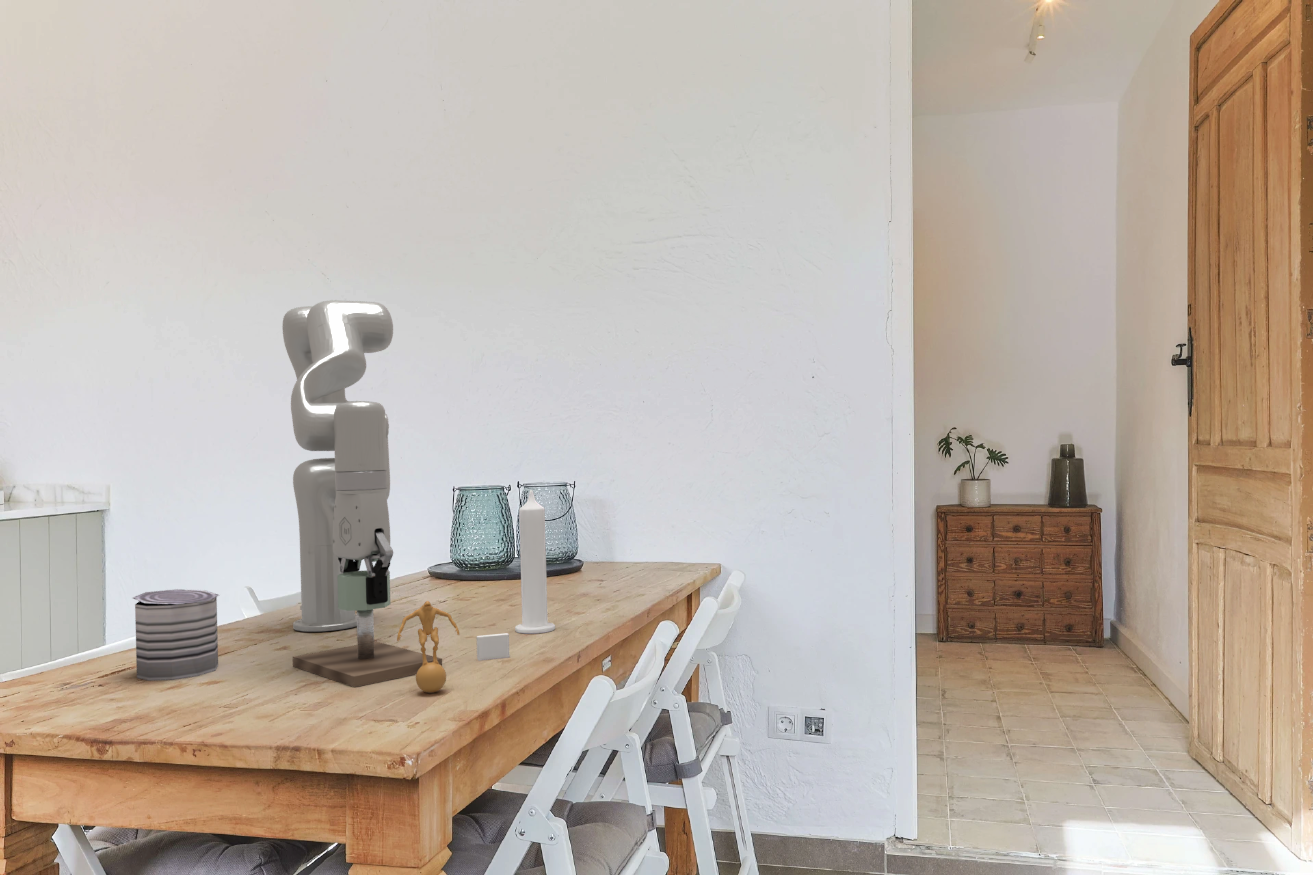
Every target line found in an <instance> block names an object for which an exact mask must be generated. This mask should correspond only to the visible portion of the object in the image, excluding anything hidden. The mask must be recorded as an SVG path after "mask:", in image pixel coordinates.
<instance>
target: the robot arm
mask: <svg viewBox="0 0 1313 875" xmlns="http://www.w3.org/2000/svg"><path fill="white" fill-rule="evenodd" d="M282 319H283V320H282V326H281V327H282V336H283V343H284V347H285V351H286V352H287V355H288V358H289V361H290V363H291V365H292V368H293V370H294V373H295V376H296V381H295V383H294V386H293V388H292V392H291V395H290V412H291V419H292V427H293V428H292V429H293V434H294V437H295V441H296V443H297V444H298V445H299V446H300V448H302V449H303V450H306V451H310V452H334V457H325V458H324V457H323V458H312V459H309V460H306V461H303V462H301V463H300V464H298V465H297V467H295V469H294V472H293V476H292V487H293V492H294V497H295V502H296V509H297V516H298V527H299V528H298V531H299V533H298V534H299V560H300V562H299V563H300V564H299V565H300V598H301V599H300V600H301V601H300V603H301V605H300V606H299V607H300V610H301V618H300V619H297V620H294V621H293V623H292V628H293V629H294V630H295V631H298V632H307V633H308V632H309V633H310V632H312V633H314V632H315V633H316V632H330V631H339V630H346V629H351V628H354V627H355V628H357V613H356V611H346V610H342V609H338V576H337V575H340V574H342V573H346V572H354V571H361V570H360V569H361V565H362V561H363V560H364V564H365V568H366V570H367V572H368V576H369V577H367V578H366V603H367V604H369V605H372V604H379V603H385V602H387V601H388V587H387V576H388V574H389V569H390V566H391V561H392V558H393V557H394V550H393V548H392V546H391V526H390V514H389V506H388V499H389V497H390V491H391V474H390V470H391V467H390V455H389V454H390V451H389V450H390V449H389V430H390V429H389V428H390V424H389V417H388V414H387V413H386V409H385V408H384V406H383V404H382V403H379V402H375V401H367V400H366V401H365V400H361V401H360V400H358V401H356V400H353V401H350V400H347V398H346V389H347V388H349V387H351V386H353V385H355V384H357V383H358V382H359V381H360V380H361V379H362V378H363V376H364V375H365V373H366V370H367V360H366V357H365V355H366V354H373V353H379V352H382V351H384V350H386V349H387V348H389V346H390V345H391V344H392V340H393V336H394V324H393V319H392V316H391V313H390V312H389V310H388V308H387V307H386V306H385V305H384V304H382V303H380V302H375V301H360V300H359V301H358V300H355V301H354V300H337V299H335V300H333V299H331V300H324V301H320V302H317V303H315V304H314V305H313V306H312V305H311V306H300V307H294V308H292V309H290V310H288V311H286V313H285V314H284V315H283V318H282ZM374 562H375V564H374Z"/></svg>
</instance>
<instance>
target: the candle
mask: <svg viewBox="0 0 1313 875" xmlns="http://www.w3.org/2000/svg"><path fill="white" fill-rule="evenodd" d="M518 514H519V516H518V517H519V518H518V519H519V522H518V523H519V550H520V551H519V553H520V557H519V558H520V587H521V591H520V592H521V622H522V623H519V624H517V625H515V627H514V629H515V630H514V631H515V632H516V633H519V634H528V635H529V634H531V635H534V634H545V633H550V632H552V631H555V629H556V625H555V623H553V622H549V619H548V617H549V616H548V588H547V587H548V585H547V583H548V581H547V555H546V554H547V552H546V550H547V548H546V513H545V507H544V506H542V505H541V504H540V503H538V502H537V500H536V497H535V495H534V490H533V489H530V490H529V493H528V498H527V501H526V503H524V504H523V505H522V506H521V507H519V509H518Z"/></svg>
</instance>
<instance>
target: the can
mask: <svg viewBox="0 0 1313 875" xmlns="http://www.w3.org/2000/svg"><path fill="white" fill-rule="evenodd" d="M219 596H220V594H218V593H215V592H211V591H209V590H205V589H204V590H203V589H200V590H199V589H178V588H177V589H176V588H175V589H167V590H166V589H165V590H156V591H155V590H154V591H145V592H143V593H140V594H138V595H135V596H133V597H132V599H134V600H136V601H138V602H136V603H135V604H134V607H135V608H134V611H135V618H134V619H135V645H136V646H135V652H136V653H135V654H136V657H135V658H136V660H135V661H136V679H139V680H144V681H146V682H147V681H148V682H151V681H152V682H153V681H154V682H155V681H157V682H158V681H174V680H175V681H176V680H181V679H189V678H195V677H200V676H203V675H206V674H209V673H212V672H215V671H216V670H217V669H218V667H219V644H218V639H219V638H218V608H217V607H218V604H217V602H218V599H217V598H218V597H219Z"/></svg>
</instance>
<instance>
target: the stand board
mask: <svg viewBox="0 0 1313 875" xmlns="http://www.w3.org/2000/svg"><path fill="white" fill-rule="evenodd" d="M426 659H427V662H428V663H430V662H433V655H431V654H426ZM437 661H438V663H439V664H440V665H441V666H442V667H443V658H441V657H438V656H437ZM422 664H423V657H422V652H418V651H414V650H411V649H406V648H403V647H399V646H395V645H392V644H387V643H384V642H380V641H374V658H371V659H358V644H356V645H350V646H344V647H337V648H333V649H326V650H321V651H316V652H310V653H306V654H299V655H294V656H292V667H294V668H297V669H300V670H303V671H306V672H308V673H312V674H315V675H317V676H319V677H324V678H326V679H329V680H331V681H335V682H337V683H341V684H343V685H346V686H349V687H352V688H357V687H358V688H359V687H362V686H366V685H367V686H368V685H371V684H375V683H381V682H386V681H391V680H396V679H400V678H405V677H411V676H414V675H415V676H416V674H417V671H418V670H419V668H420V667H421V666H422Z"/></svg>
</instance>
